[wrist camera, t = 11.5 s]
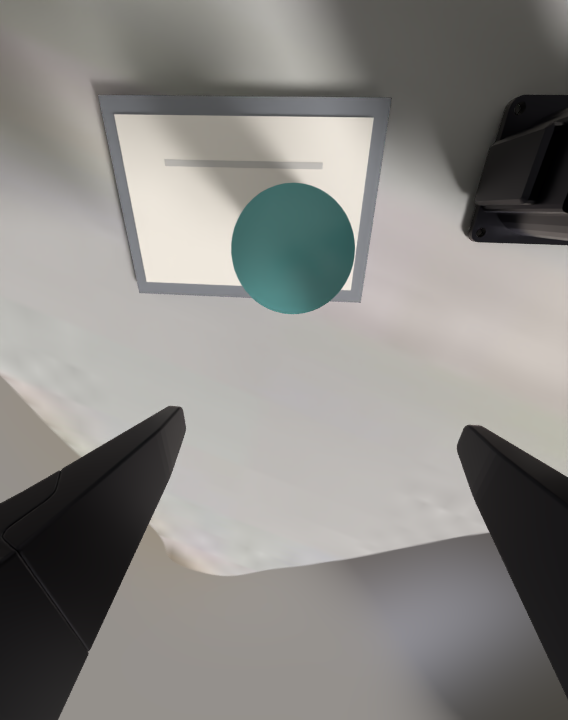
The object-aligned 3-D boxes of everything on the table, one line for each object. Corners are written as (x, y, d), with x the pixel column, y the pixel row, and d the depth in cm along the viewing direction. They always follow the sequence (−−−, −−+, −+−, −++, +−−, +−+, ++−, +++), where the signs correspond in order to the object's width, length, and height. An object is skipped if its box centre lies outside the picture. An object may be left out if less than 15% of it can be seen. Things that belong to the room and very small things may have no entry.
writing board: (386, 104, 15) (392, 95, 14) (358, 298, 19) (361, 303, 18) (109, 101, 15) (94, 93, 14) (146, 289, 20) (137, 293, 19)
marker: (336, 196, 16) (364, 183, 7) (329, 265, 17) (346, 316, 9) (270, 195, 16) (226, 181, 8) (270, 263, 17) (234, 311, 9)
